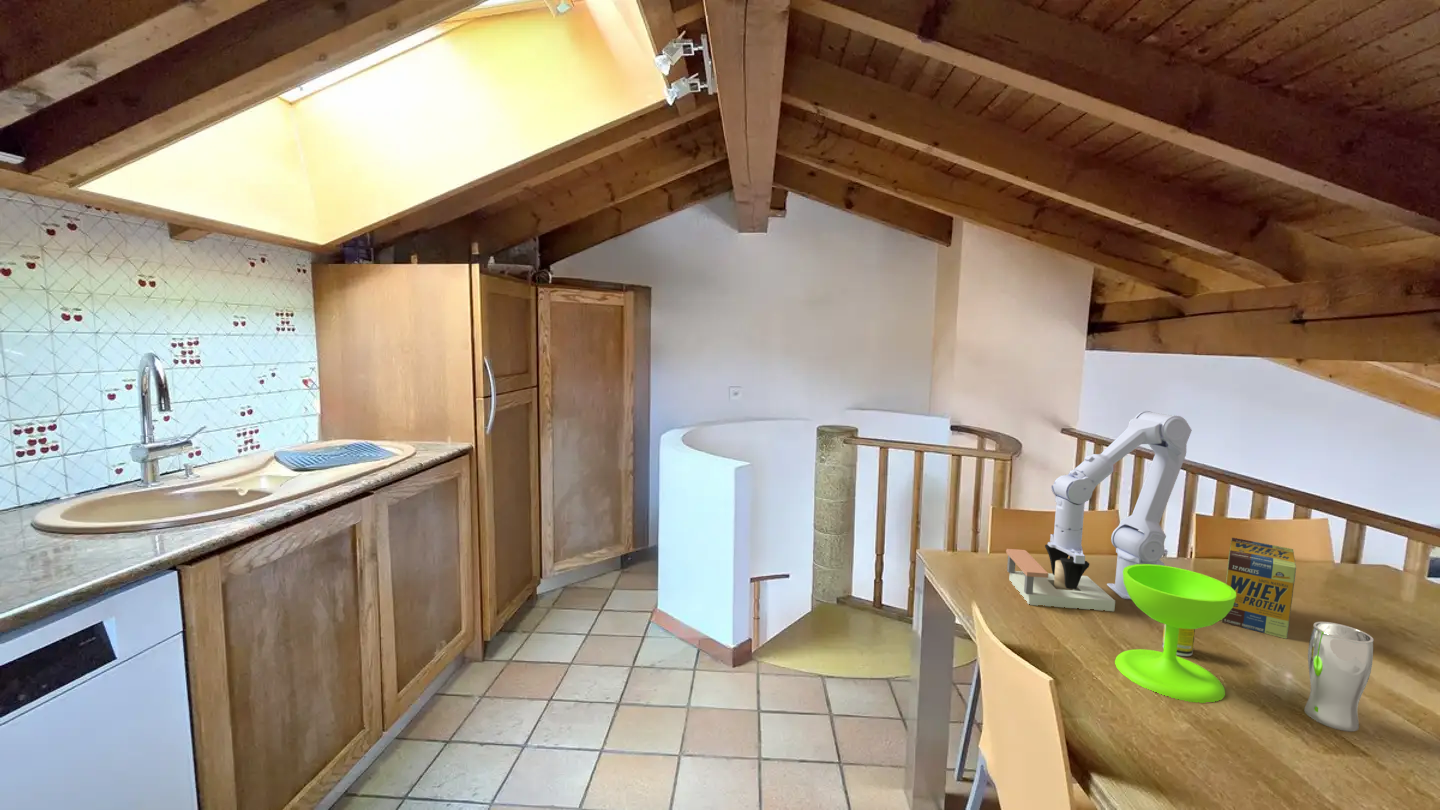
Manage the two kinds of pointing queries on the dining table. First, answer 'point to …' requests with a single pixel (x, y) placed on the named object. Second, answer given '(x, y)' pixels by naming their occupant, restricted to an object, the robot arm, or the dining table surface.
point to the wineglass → (1174, 629)
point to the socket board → (1064, 593)
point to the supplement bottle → (1183, 641)
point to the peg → (1059, 576)
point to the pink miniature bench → (1025, 567)
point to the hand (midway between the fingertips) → (1064, 581)
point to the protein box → (1261, 586)
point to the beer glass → (1337, 674)
